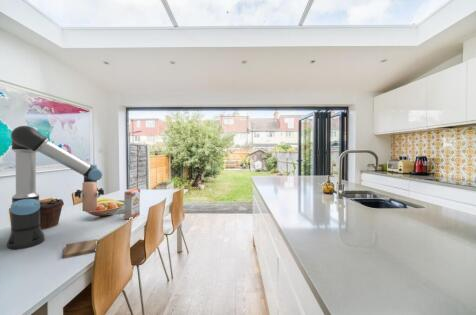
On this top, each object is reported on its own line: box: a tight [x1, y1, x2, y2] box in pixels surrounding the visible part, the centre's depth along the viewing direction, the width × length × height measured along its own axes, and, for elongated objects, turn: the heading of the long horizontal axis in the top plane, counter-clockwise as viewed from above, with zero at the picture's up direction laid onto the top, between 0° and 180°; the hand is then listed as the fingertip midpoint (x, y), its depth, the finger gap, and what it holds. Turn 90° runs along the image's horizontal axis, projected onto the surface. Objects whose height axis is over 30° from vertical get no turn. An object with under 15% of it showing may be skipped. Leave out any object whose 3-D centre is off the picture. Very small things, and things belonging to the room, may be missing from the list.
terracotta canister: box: [81, 181, 98, 212], centre depth 130 cm, size 7×7×16 cm
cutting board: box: [62, 238, 98, 259], centre depth 117 cm, size 14×14×2 cm
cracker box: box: [123, 188, 141, 220], centre depth 172 cm, size 14×6×21 cm, turn 179°
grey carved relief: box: [111, 206, 124, 216], centre depth 186 cm, size 16×25×7 cm, turn 120°
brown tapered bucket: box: [39, 198, 65, 230], centre depth 150 cm, size 18×20×18 cm
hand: (89, 196), depth 126 cm, fingers closed on terracotta canister, 7 cm apart
